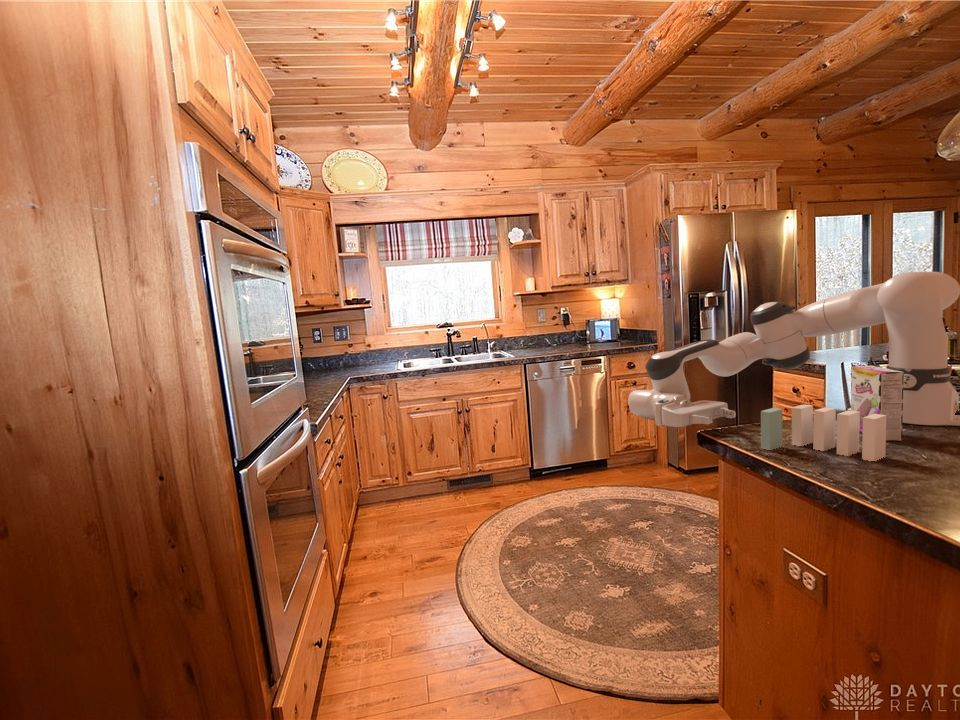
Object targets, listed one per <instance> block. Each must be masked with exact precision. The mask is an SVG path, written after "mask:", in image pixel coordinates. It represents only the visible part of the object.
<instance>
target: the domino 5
mask: <svg viewBox="0 0 960 720" xmlns="http://www.w3.org/2000/svg"><path fill="white" fill-rule="evenodd" d="M886 442H887V441H886V415H881V414H872V415H869V416H866V417H863V434H862V442H861V443H862V446H861V447H862V448H861V451H862V452H861V460H862V459H863V461H866V460H868V461H867V462H871V461H875V462H877V460H878V461H880V460H882V459H884V458H886V448H887V447H886V444H887V443H886ZM883 457H884V458H883ZM881 458H882V459H881ZM879 459H880V460H879Z"/></svg>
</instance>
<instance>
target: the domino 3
mask: <svg viewBox="0 0 960 720" xmlns="http://www.w3.org/2000/svg"><path fill="white" fill-rule="evenodd" d="M836 411H837V409H836V407H835V408H834V407H828V406H827V407H826V406H825V407H822V408H821V407H820V408H818V409H813V443H812V444H813V446H812V447H813V449H812V450H814V449H815V450H814V451H818V450H820V451H819V452H823V451H824V452H825V451H828V449H829V450H832V449H833V448H835V447H836V416H837V415H836ZM831 448H832V449H831Z"/></svg>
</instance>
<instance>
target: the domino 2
mask: <svg viewBox="0 0 960 720" xmlns="http://www.w3.org/2000/svg"><path fill="white" fill-rule="evenodd" d="M813 433H814V405H812V404H811V405H810V404H800V405H796V406H792V407H791V445H792V446H794V445H796V447H799V446H802V447H804V445H805V446H807V444H808V445H810V443H811V444H813Z"/></svg>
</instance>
